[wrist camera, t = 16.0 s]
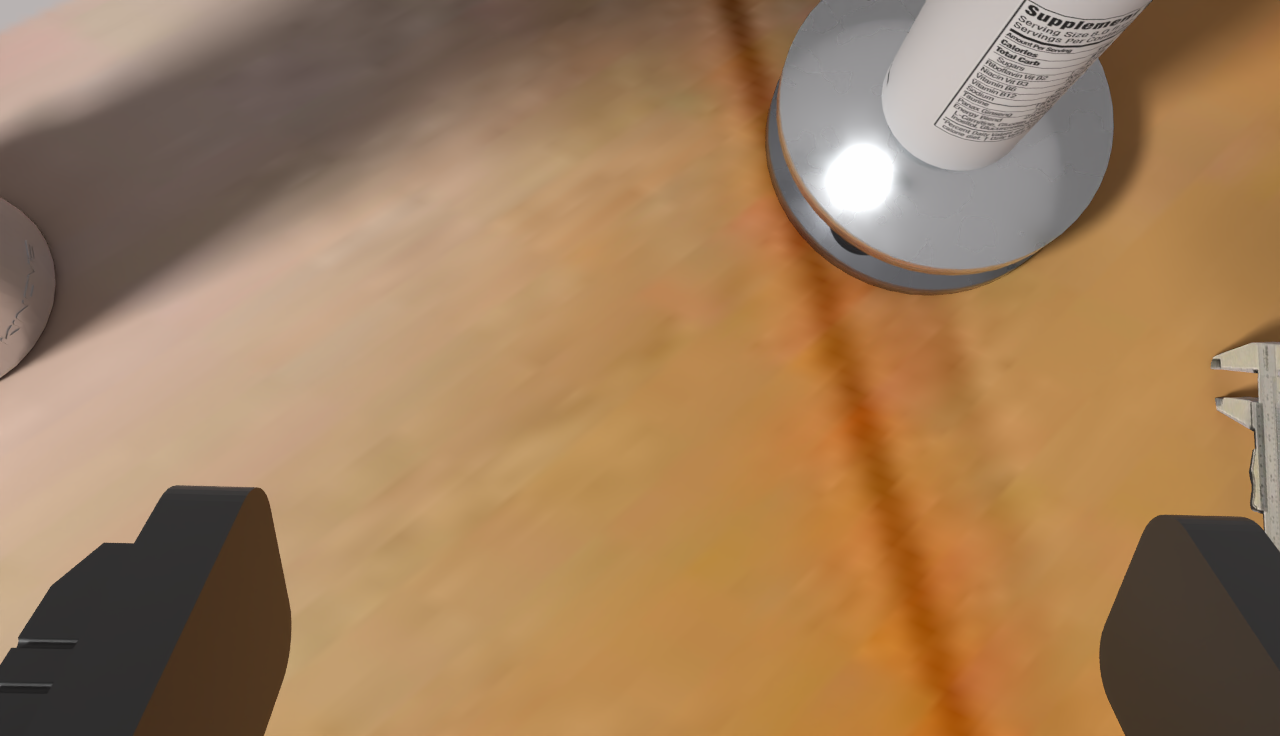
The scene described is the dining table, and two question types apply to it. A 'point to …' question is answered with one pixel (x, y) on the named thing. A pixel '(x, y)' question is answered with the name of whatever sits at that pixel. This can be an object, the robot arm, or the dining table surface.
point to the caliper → (1259, 425)
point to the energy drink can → (991, 72)
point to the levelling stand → (917, 164)
